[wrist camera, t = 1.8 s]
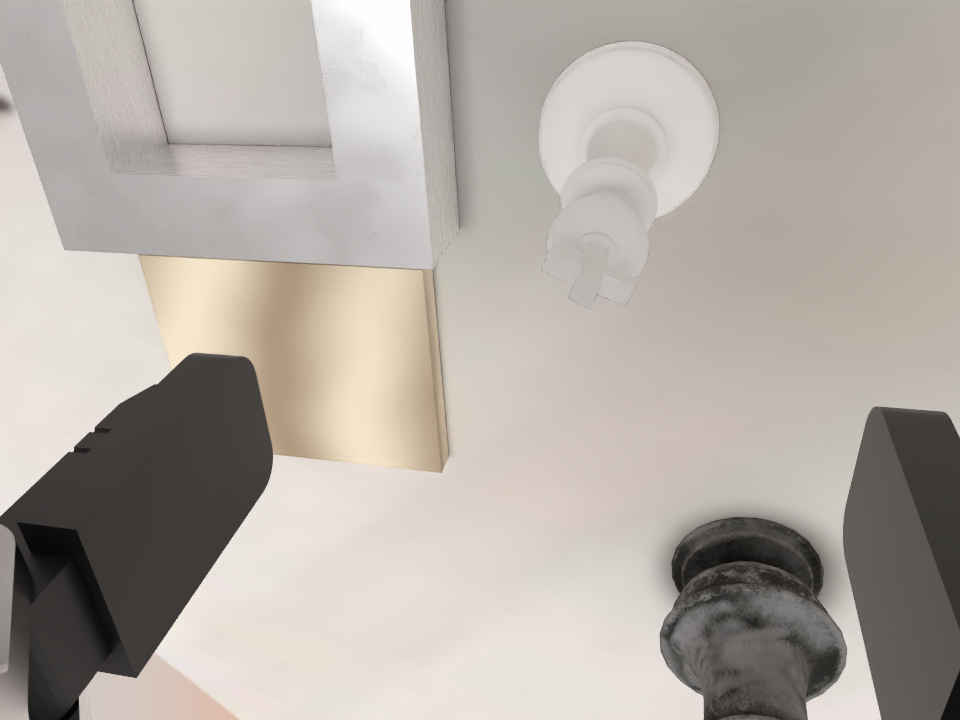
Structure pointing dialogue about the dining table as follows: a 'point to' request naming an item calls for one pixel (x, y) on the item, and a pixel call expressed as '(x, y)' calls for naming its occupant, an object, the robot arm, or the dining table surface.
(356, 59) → the socket block
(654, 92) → the chess piece
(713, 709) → the salt shaker
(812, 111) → the dining table surface
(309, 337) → the birch pad
